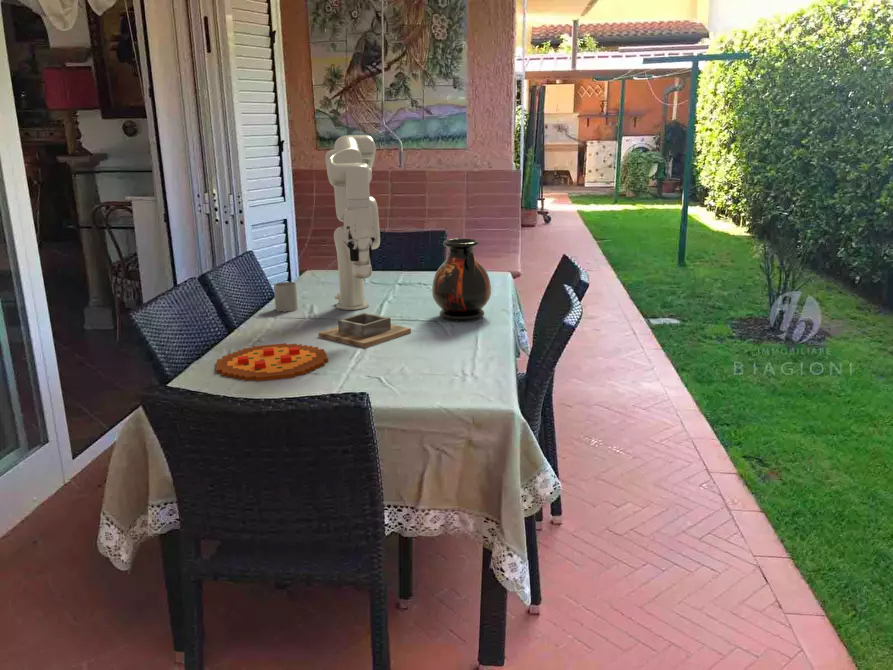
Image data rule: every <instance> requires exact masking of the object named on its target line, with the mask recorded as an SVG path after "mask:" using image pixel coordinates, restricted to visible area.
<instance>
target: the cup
mask: <svg viewBox="0 0 893 670" xmlns="http://www.w3.org/2000/svg"><path fill="white" fill-rule="evenodd" d="M273 292H274V302H275V303H274V305H275V311H276V310H277V311H276V312H278V311H283V312H282V313H287V312H286V311H291V312H295V311H297V310H299V304H298V294H297V293H298V292H297V283H296V282H293V281H283V282H276V283H274V284H273Z"/></svg>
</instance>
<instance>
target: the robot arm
mask: <svg viewBox="0 0 893 670" xmlns="http://www.w3.org/2000/svg"><path fill="white" fill-rule="evenodd" d="M375 142H376V141H374V139H373V137H372V136H370V135H368V134H360V135H355V134H354V135H353V134H352V135H349V134H348V135H342V136H340V137H338V138H337V139H336V140H335V142H334V149H330V150H328V151H327V152H326V154H325V157H324V158H325V167H326V172H327V173H326V174H327V179H328V182H329V184H330V185H331V186H332V187H333V190H334V193H333V194H334V203H335V205H334V206H335V212H336V213H335V214H336V218H337V219H338V220H339V221H340V222H343V225H342V226H338V227H337V228H336V229H335V230H334V231H333V240H334V245H335V249H336V250H335V251H336V256H337V258H336V259H337V268H338V269H337V271H338V288H339V289H338V290H339V293H337V294H336V295H335V296H334V299H335V300H338V302H337V303H336V306H335V307H336V309H339V310H346V311H352V310H353V311H354V310H357V311H358V310H363V309H366V308H368V307H369V306H370V305H369V304H370V303H369V301H367V300H365V283H364V282H365V281H364V279H358V278H355V277H354V276H353V273H352V267H353V261H355V262H357V261H358V249H356V248H357V240H359V235H360V233H361V232H362V230H364V229H367V230H368V231H369V232H370V243H369V256H370V260H371V259H373V253H372V252H373V250H376V249H378V248H379V247H380V244H381V232H380V231H381V230H380V220H379V218H380V217H379V206H378V203H377V200H376V198H374V197H373V196H371V194H370V183H371V181H372V179H373V171H372V168H373V166H374V162H375V158H376V153H377V150H376V147H377V146H376V143H375ZM351 237H352V238H351ZM352 241H354V243H353V244H352Z"/></svg>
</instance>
